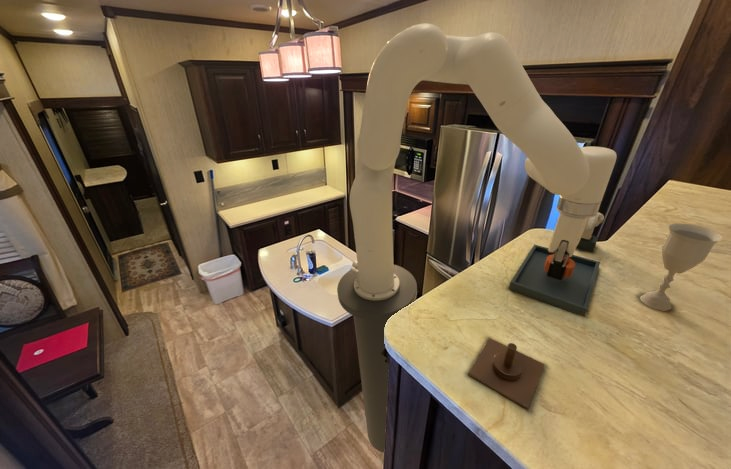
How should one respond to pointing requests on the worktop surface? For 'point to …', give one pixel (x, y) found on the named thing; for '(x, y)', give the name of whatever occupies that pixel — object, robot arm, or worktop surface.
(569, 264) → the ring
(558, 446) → the worktop surface
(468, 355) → the worktop surface
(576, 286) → the tray
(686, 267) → the chalice
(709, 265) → the worktop surface
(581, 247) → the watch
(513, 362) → the stand
